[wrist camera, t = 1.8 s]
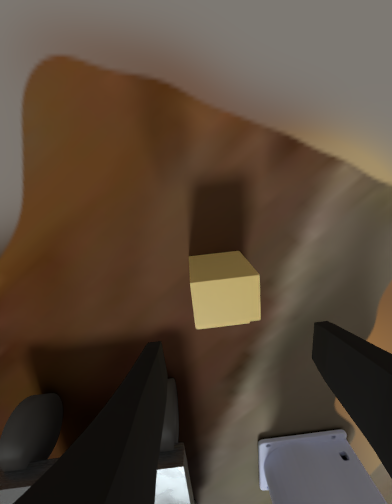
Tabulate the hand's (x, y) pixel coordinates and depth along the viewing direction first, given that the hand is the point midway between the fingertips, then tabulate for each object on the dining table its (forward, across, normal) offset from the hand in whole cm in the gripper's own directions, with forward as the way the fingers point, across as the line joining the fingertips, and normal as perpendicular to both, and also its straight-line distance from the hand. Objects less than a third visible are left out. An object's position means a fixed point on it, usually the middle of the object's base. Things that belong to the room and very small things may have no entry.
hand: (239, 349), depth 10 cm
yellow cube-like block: (+8, 0, 0) cm, 8 cm away
